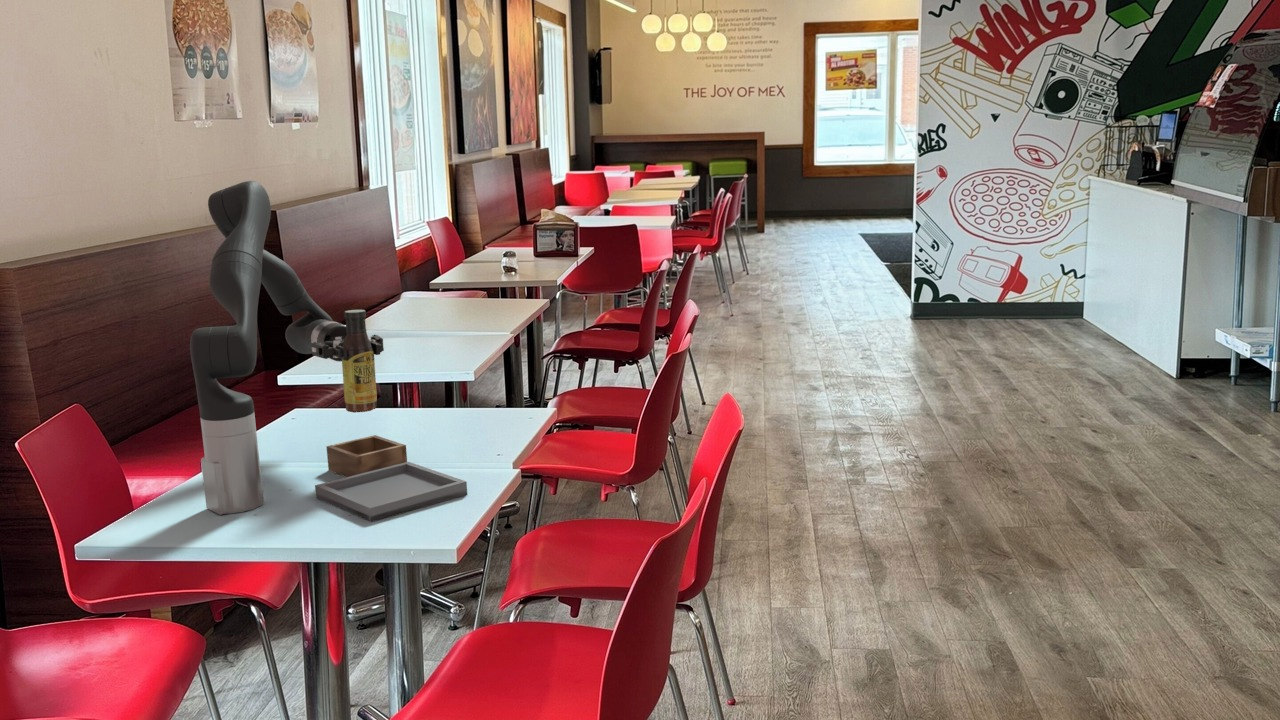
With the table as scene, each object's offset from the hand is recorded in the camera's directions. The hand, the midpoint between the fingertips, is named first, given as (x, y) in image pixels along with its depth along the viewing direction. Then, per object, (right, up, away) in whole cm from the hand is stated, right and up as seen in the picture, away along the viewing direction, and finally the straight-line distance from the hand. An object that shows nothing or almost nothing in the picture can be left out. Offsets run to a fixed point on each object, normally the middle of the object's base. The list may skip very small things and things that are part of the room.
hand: (362, 351), depth 221 cm
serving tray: (+8, -27, -11) cm, 30 cm away
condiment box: (0, -24, +7) cm, 25 cm away
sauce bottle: (-1, -12, +4) cm, 13 cm away
